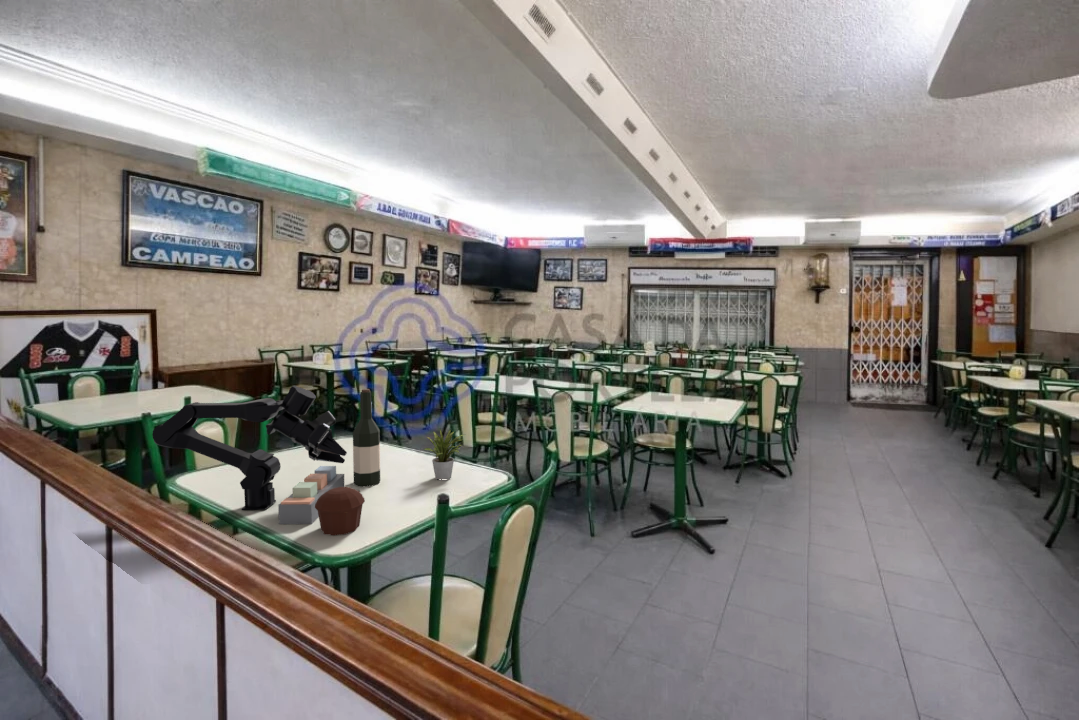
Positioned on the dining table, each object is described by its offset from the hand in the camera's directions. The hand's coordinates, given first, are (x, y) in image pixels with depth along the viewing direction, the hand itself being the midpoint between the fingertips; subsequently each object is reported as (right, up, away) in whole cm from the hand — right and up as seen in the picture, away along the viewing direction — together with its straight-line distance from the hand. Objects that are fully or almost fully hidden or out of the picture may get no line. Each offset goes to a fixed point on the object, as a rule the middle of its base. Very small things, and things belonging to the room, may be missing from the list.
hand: (345, 458), depth 144 cm
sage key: (-8, -9, -7) cm, 14 cm away
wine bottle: (-1, -12, +20) cm, 23 cm away
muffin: (+5, -15, -15) cm, 21 cm away
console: (-8, -13, 0) cm, 16 cm away
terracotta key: (-9, -9, +1) cm, 12 cm away
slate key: (-9, -8, +8) cm, 15 cm away
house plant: (+23, -12, +24) cm, 36 cm away
